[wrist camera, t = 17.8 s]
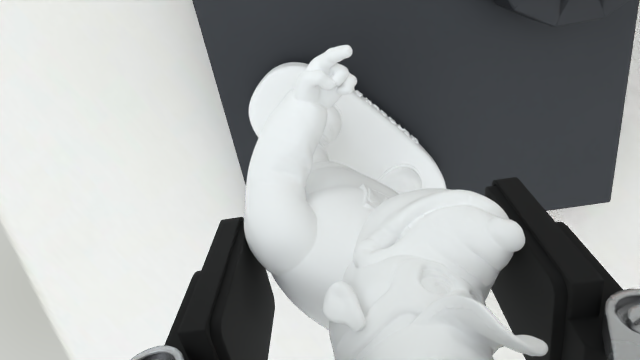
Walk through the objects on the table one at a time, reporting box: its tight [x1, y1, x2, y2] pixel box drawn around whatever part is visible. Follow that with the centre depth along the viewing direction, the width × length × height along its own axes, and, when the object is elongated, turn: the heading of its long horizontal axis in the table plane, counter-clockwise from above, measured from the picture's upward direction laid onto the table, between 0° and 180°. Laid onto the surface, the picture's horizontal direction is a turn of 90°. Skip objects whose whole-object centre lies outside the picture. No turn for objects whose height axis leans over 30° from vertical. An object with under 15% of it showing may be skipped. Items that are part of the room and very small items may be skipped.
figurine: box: [244, 45, 548, 360], centre depth 12 cm, size 9×7×12 cm
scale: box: [192, 0, 639, 211], centre depth 17 cm, size 16×14×4 cm
